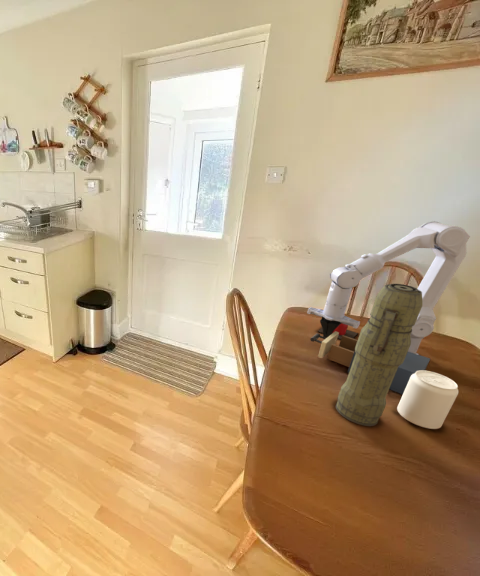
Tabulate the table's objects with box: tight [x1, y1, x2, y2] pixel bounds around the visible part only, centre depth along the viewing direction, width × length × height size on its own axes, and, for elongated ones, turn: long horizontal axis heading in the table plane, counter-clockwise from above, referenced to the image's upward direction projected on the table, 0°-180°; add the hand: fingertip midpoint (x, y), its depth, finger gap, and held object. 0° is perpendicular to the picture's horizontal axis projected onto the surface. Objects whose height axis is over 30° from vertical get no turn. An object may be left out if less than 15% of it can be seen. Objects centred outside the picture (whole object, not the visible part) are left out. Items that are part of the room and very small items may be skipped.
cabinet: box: [347, 351, 431, 395], centre depth 93 cm, size 15×13×8 cm
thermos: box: [335, 283, 422, 427], centre depth 74 cm, size 9×12×35 cm
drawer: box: [309, 331, 358, 368], centre depth 102 cm, size 18×11×6 cm, turn 37°
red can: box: [333, 323, 349, 335], centre depth 118 cm, size 5×5×6 cm
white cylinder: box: [396, 370, 459, 430], centre depth 77 cm, size 8×8×12 cm
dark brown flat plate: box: [317, 327, 359, 341], centre depth 119 cm, size 10×10×1 cm
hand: (326, 338), depth 109 cm, fingers closed
